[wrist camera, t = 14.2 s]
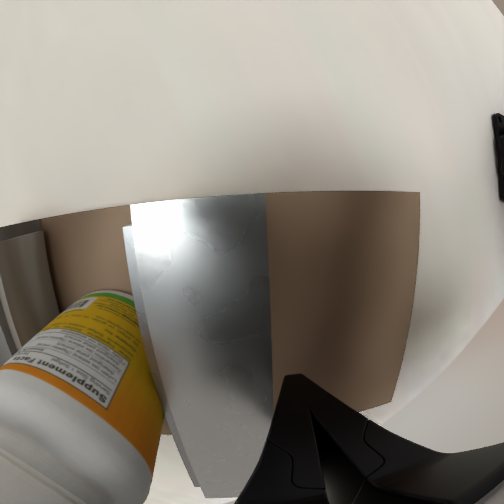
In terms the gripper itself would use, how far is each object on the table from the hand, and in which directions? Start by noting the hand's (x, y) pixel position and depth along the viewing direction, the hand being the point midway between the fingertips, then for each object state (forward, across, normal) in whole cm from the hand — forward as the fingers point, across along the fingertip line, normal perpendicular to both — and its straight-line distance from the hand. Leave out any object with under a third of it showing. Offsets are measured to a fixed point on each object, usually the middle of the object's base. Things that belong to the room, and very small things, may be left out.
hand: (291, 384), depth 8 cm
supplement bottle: (+3, +7, 0) cm, 8 cm away
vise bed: (+4, +3, 0) cm, 5 cm away
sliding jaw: (+3, +3, 0) cm, 4 cm away
